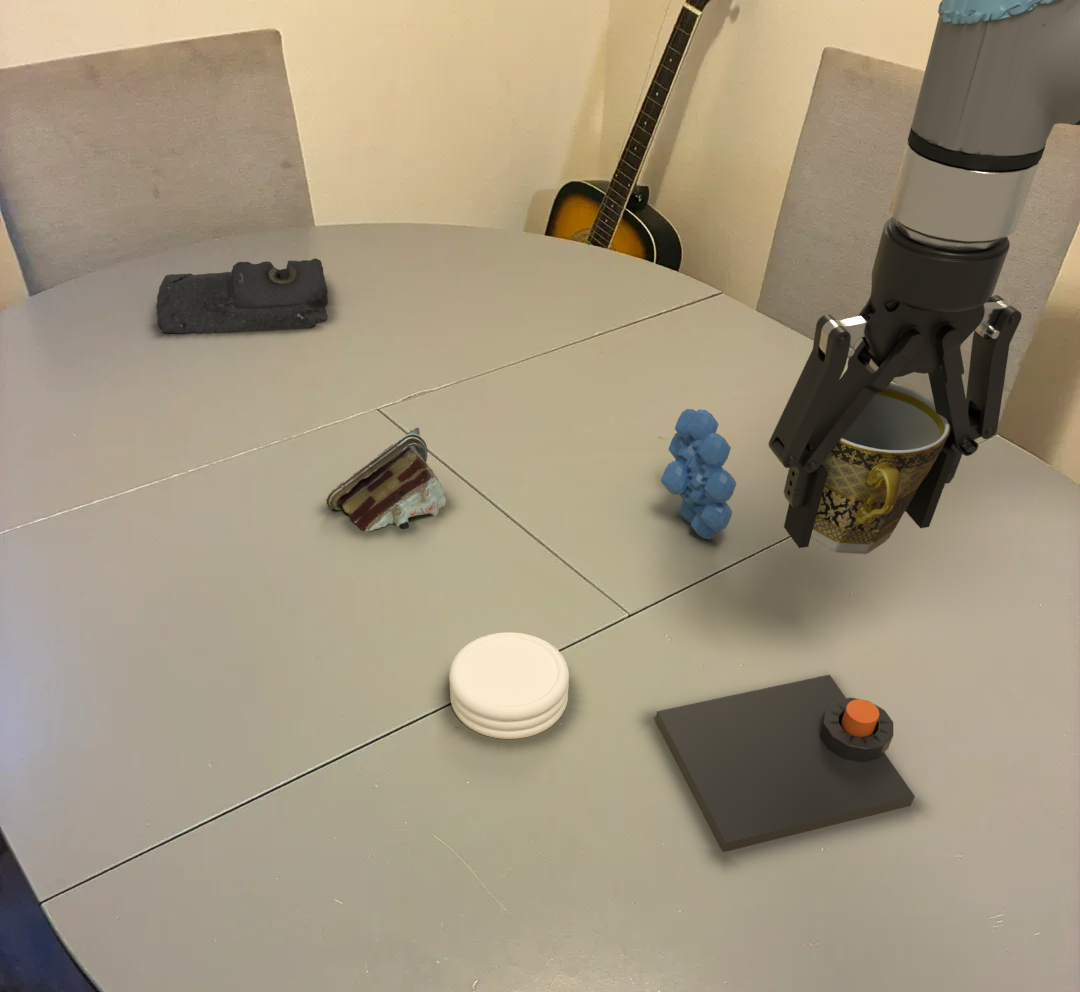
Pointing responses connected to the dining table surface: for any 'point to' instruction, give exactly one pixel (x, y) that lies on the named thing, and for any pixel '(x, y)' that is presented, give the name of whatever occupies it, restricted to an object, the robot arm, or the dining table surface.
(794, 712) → the dark grey flat slab
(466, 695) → the coaster
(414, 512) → the chocolate cake
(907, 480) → the ceramic cup
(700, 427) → the grapes
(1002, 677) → the dining table surface
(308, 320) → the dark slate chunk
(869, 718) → the button
